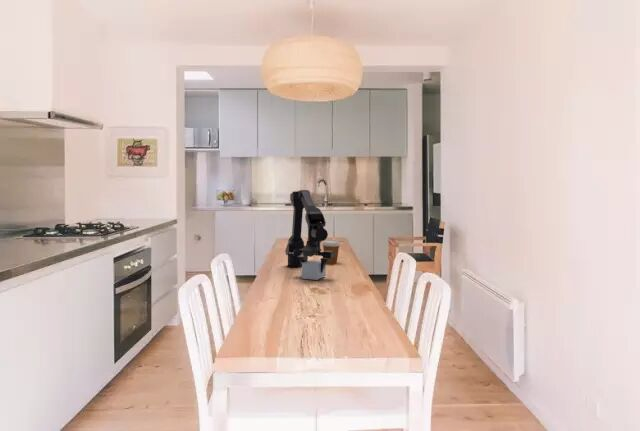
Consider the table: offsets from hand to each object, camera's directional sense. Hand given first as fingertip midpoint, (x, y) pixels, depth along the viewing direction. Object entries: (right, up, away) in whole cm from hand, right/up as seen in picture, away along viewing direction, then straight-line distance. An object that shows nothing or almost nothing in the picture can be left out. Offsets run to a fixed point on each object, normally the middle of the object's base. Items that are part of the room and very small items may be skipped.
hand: (313, 271), depth 227 cm
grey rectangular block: (0, -2, 0) cm, 2 cm away
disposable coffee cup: (+9, 0, +39) cm, 40 cm away
